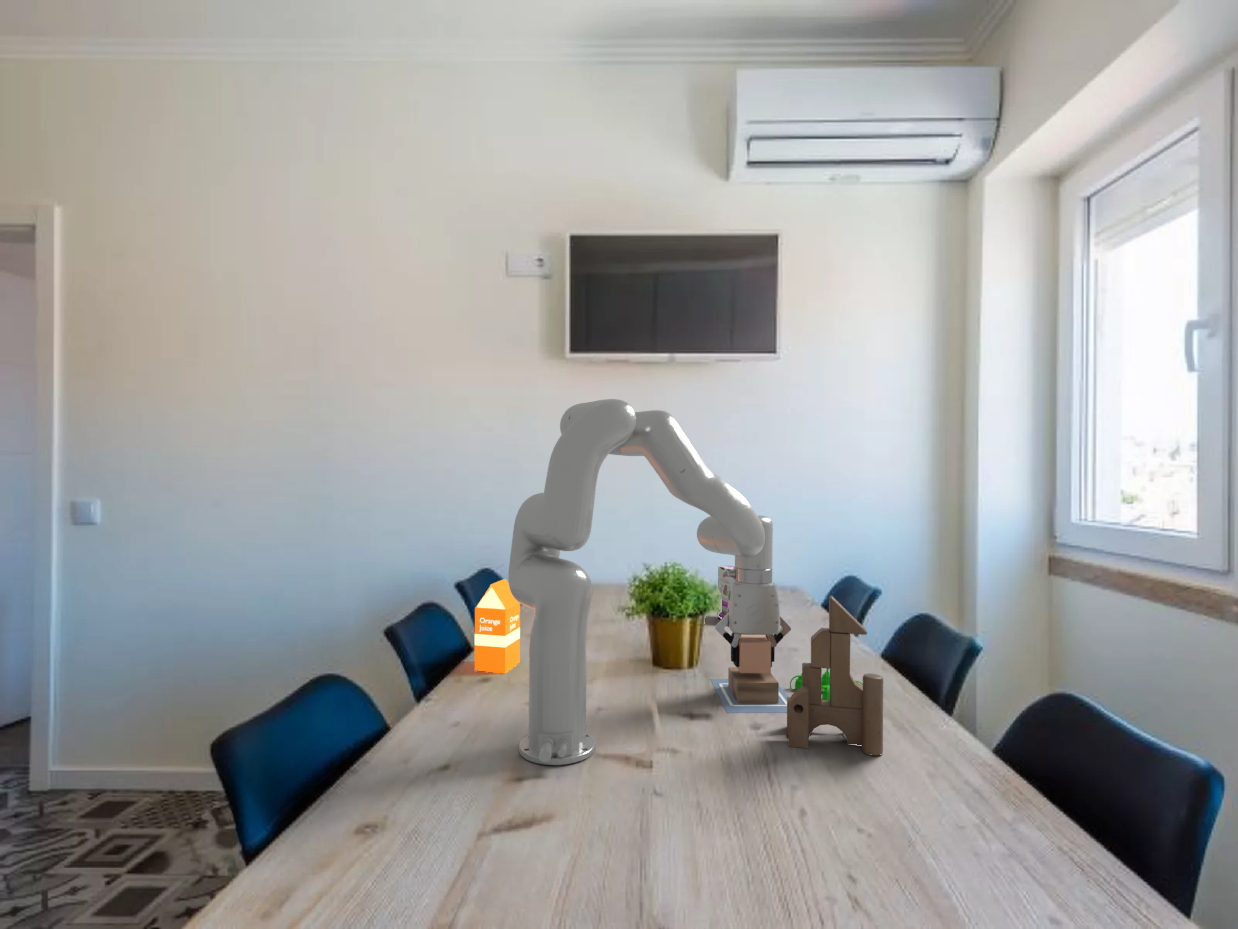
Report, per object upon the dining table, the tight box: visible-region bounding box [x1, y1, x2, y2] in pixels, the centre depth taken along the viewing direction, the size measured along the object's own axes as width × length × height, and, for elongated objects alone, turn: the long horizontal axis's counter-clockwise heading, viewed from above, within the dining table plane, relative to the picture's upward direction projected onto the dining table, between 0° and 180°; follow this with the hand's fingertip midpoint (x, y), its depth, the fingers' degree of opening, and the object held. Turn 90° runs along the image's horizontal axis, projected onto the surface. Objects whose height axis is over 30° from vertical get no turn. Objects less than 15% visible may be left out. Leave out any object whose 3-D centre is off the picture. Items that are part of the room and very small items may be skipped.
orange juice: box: [474, 578, 521, 674], centre depth 158 cm, size 8×9×20 cm
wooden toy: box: [786, 595, 884, 756], centre depth 116 cm, size 16×7×25 cm, turn 75°
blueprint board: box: [710, 678, 789, 714], centre depth 137 cm, size 20×14×1 cm
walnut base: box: [727, 667, 780, 703], centre depth 137 cm, size 10×8×4 cm
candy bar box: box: [717, 565, 735, 618], centre depth 205 cm, size 11×5×16 cm, turn 17°
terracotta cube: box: [736, 635, 772, 674], centre depth 137 cm, size 6×6×6 cm
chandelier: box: [789, 668, 863, 701], centre depth 139 cm, size 15×15×7 cm
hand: (752, 664), depth 137 cm, fingers closed on terracotta cube, 5 cm apart
